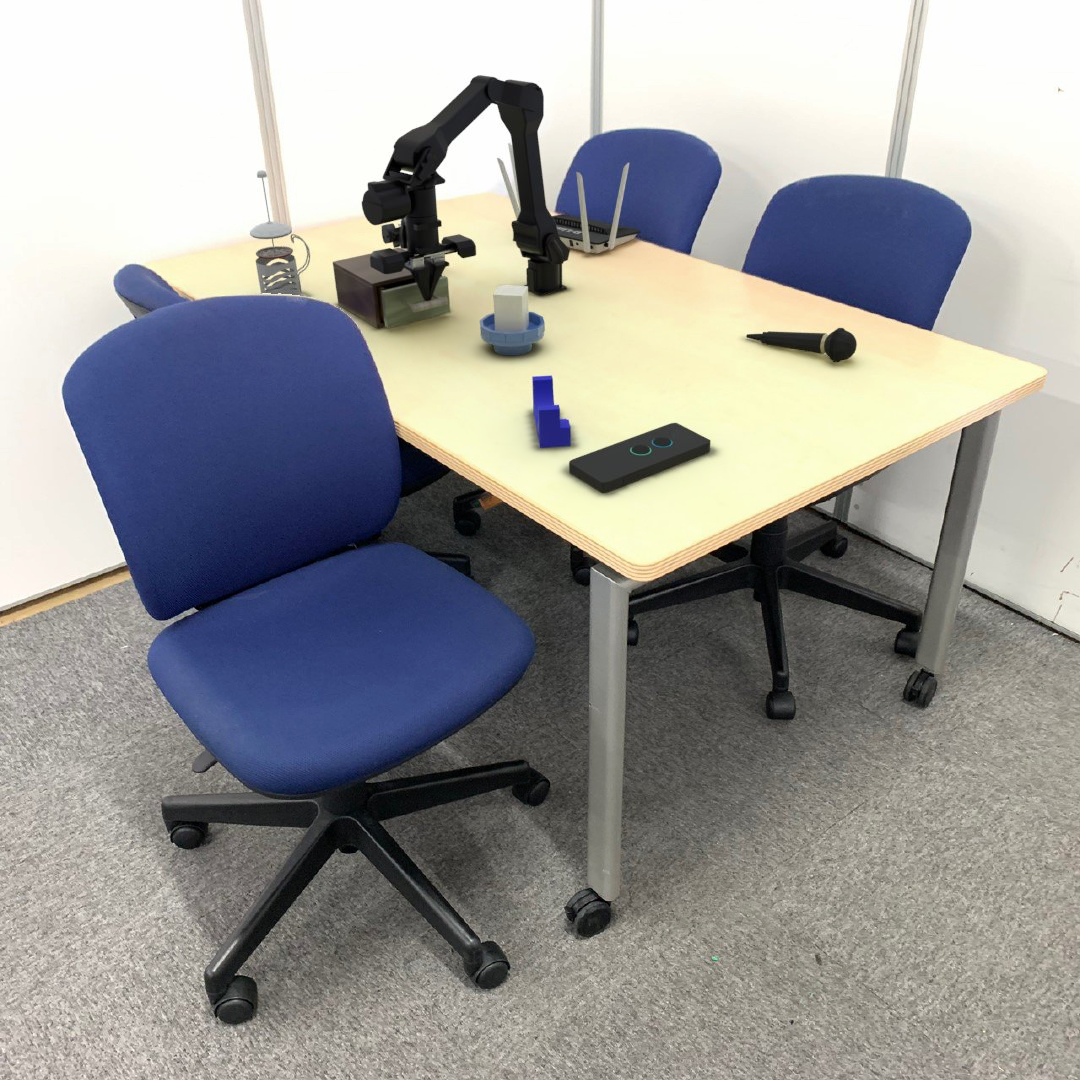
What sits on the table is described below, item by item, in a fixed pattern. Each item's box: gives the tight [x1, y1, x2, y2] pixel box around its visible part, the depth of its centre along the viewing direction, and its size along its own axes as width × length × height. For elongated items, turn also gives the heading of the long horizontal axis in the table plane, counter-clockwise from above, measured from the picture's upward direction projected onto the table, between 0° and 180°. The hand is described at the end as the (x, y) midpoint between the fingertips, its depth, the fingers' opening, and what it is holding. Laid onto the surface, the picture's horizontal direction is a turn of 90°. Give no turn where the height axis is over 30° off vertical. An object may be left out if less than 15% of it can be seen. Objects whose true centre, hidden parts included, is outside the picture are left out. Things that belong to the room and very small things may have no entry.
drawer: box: [376, 275, 451, 329], centre depth 193 cm, size 21×13×7 cm, turn 35°
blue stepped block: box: [531, 374, 572, 449], centre depth 152 cm, size 12×4×6 cm, turn 5°
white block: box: [493, 284, 530, 333], centre depth 178 cm, size 5×5×7 cm
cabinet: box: [332, 247, 443, 329], centre depth 198 cm, size 17×15×9 cm
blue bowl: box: [479, 311, 546, 356], centre depth 180 cm, size 11×11×5 cm
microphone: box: [745, 327, 858, 364], centre depth 176 cm, size 6×6×20 cm
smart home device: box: [568, 422, 712, 494], centre depth 144 cm, size 8×2×20 cm
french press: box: [249, 170, 311, 297], centre depth 199 cm, size 10×12×25 cm
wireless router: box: [496, 142, 642, 254], centre depth 228 cm, size 34×23×20 cm
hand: (427, 300), depth 186 cm, fingers closed, pressing on drawer
